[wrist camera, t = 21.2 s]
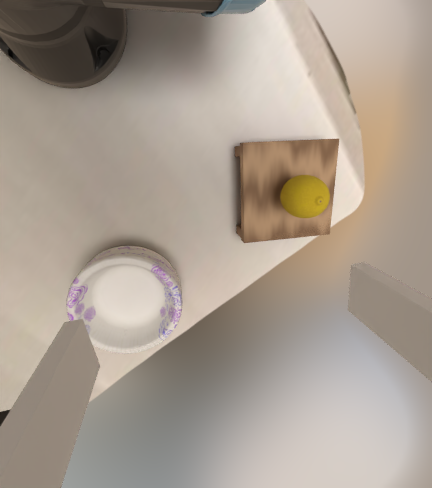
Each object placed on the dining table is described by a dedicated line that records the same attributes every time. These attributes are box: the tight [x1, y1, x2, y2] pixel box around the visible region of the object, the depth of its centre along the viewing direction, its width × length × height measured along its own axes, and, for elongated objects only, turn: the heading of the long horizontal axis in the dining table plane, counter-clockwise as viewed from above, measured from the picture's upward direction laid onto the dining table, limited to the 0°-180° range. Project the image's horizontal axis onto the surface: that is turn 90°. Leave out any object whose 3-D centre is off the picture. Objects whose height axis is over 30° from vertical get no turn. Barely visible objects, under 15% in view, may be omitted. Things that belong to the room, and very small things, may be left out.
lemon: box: [280, 175, 330, 218], centre depth 33 cm, size 6×6×8 cm
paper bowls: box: [66, 246, 182, 354], centre depth 38 cm, size 15×15×8 cm
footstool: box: [235, 139, 339, 243], centre depth 39 cm, size 14×4×14 cm
